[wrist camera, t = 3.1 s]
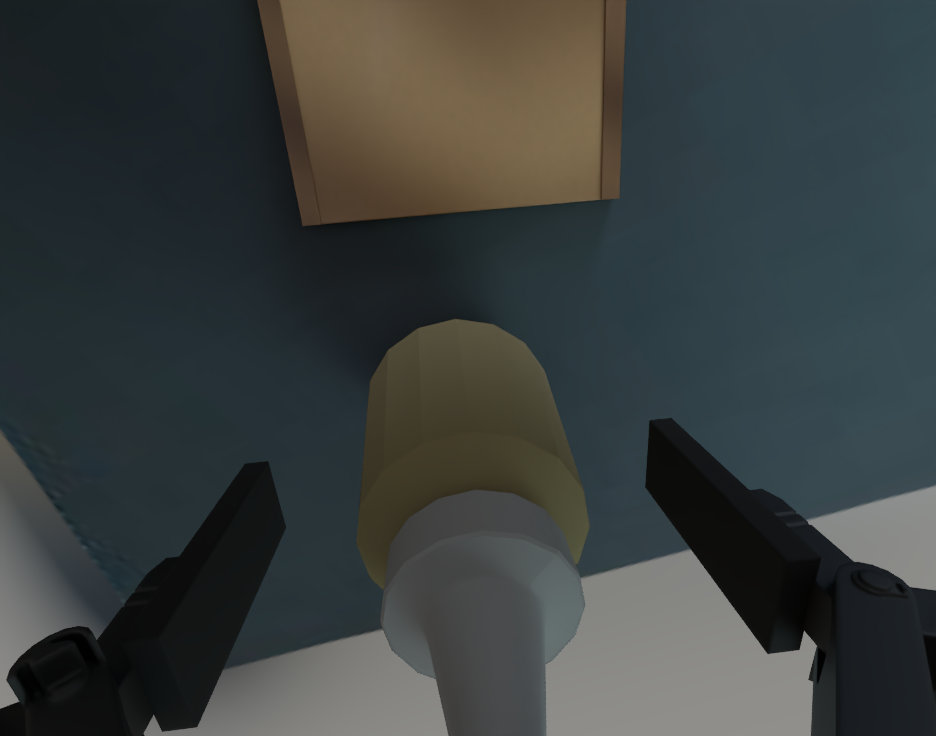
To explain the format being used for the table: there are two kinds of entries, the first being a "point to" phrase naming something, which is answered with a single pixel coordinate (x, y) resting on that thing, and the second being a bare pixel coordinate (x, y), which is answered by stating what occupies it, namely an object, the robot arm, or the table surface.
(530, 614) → the squeeze bottle
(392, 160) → the brown flat rectangular board
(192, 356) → the table surface
